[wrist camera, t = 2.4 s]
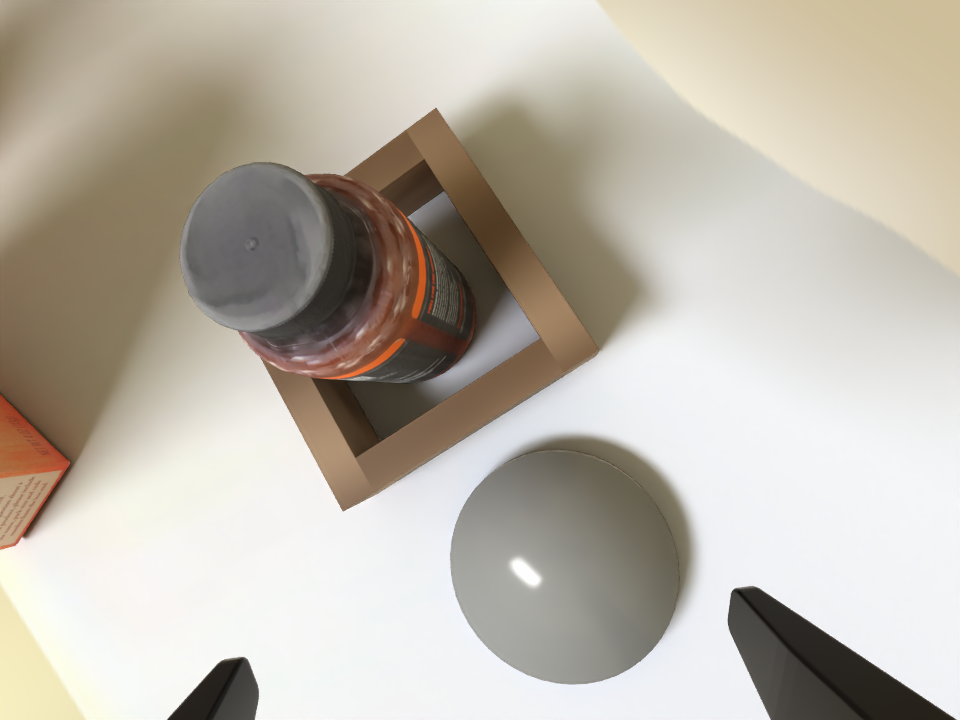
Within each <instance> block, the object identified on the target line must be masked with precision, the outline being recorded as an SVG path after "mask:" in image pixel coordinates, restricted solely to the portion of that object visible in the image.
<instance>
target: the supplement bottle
mask: <svg viewBox="0 0 960 720" xmlns="http://www.w3.org/2000/svg"><path fill="white" fill-rule="evenodd" d="M180 263H181V269H182V273H183V277H184V280H185V284H186V286H187V288H188V293H189V294H190V296H191V297H192V298H193V299H194V301H195V303H196V304H197V306H198V307H199V308H200V309H201V310H202V311H203V312H204V314H205V315H207V316H209V317H210V318H211V319H213V320H214V321H215V322H217V323H219V324H220V325H223V326H225V327H228V328H231V329H234V330H238V332H239V334H240V335H241V337H242V338H243V340H244V342H245V343H246V344H247V345H248V346H249V347H250V349H252V350H253V351H254V352H255V353H256V354H257V355H258V356H260V357H261V358H262V359H264V360H265V361H266V362H268V363H269V364H271V365H273V366H275V367H277V368H279V369H281V370H283V371H285V372H289V373H292V374H296V375H300V376H305V377H312V378H323V379H331V380H333V379H336V380H355V381H373V382H394V383H415V382H422V381H426V380H429V379H432V378H435V377H437V376H439V375H441V374H443V373H445V372H446V371H447V370H449V369H450V368H451V367H452V366H453V365H454V364H455V363H456V362H457V361H458V360H459V359H460V358H461V357H462V355H463V354H464V352H465V351H466V349H467V347H468V345H469V343H470V341H471V339H472V336H473V333H474V328H475V318H476V310H475V303H474V298H473V295H472V292H471V289H470V287H469V285H468V283H467V281H466V280H465V278H464V277H463V275H462V274H461V272H460V271H459V270H458V269H457V267H456V266H455V265H454V264H453V263H452V262H451V261H450V260H449V259H448V258H447V257H446V256H445V255H444V254H443V253H442V252H440V251H439V249H438V248H437V247H436V246H435V245H434V244H433V243H432V242H431V241H430V240H429V239H428V238H427V237H426V236H425V235H424V234H423V233H422V232H421V231H420V230H419V229H418V228H417V227H416V226H415V225H414V224H413V223H412V222H411V221H410V220H409V219H408V218H407V217H406V216H405V215H404V214H403V213H402V212H401V211H400V210H398V209H397V208H396V207H395V205H394V204H393V203H392V202H391V201H389V200H388V199H387V198H386V197H385V196H383V195H382V194H381V193H379V192H378V191H377V190H375V189H374V188H372V187H370V186H368V185H366V184H364V183H362V182H360V181H358V180H356V179H353V178H350V177H346V176H340V175H335V174H311V175H303V174H301V173H299V172H298V171H296V170H294V169H291V168H289V167H287V166H284V165H281V164H276V163H251V164H247V165H243V166H239V167H236V168H234V169H232V170H230V171H228V172H225V173H224V174H222V175H221V176H220V177H218V178H217V179H216V180H215V181H213V182H212V183H211V184H210V185H209V186H208V187H207V188H206V189H205V190H204V191H203V192H202V194H201V195H200V196H199V197H198V199H197V200H196V202H195V203H194V205H193V207H192V208H191V210H190V212H189V215H188V217H187V220H186V223H185V225H184V227H183V232H182V239H181V243H180Z"/></svg>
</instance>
